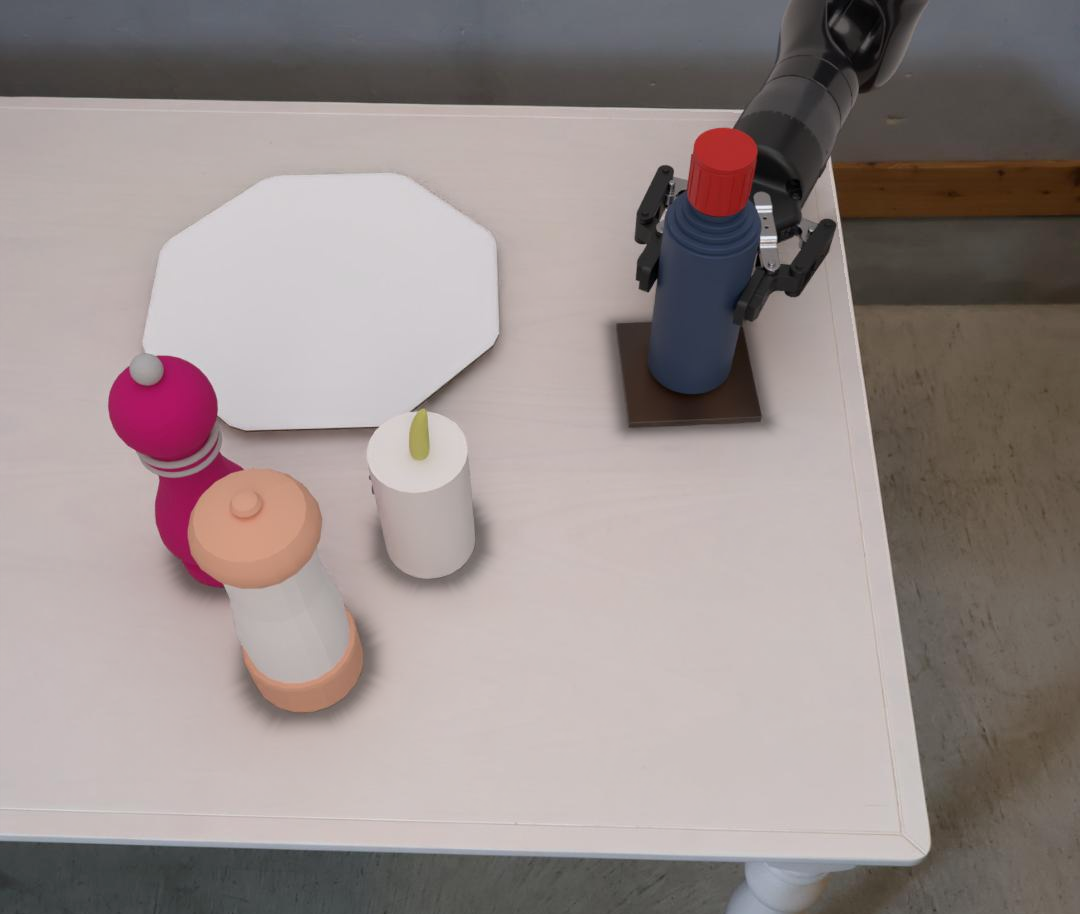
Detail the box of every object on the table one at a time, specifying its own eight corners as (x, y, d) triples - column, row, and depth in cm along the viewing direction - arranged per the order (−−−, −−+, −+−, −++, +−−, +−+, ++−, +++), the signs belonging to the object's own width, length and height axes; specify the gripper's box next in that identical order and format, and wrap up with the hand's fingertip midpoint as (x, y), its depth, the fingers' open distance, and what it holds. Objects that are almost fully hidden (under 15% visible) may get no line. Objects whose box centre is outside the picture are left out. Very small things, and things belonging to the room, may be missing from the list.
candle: (400, 493, 80) (374, 354, 67) (486, 513, 79) (477, 376, 66) (369, 565, 77) (337, 434, 64) (459, 588, 76) (444, 459, 63)
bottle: (724, 327, 87) (767, 118, 70) (737, 392, 83) (785, 188, 67) (643, 331, 86) (666, 122, 70) (652, 396, 83) (679, 193, 66)
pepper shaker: (326, 731, 70) (263, 582, 54) (230, 684, 72) (141, 526, 56) (384, 639, 74) (342, 472, 57) (291, 596, 75) (225, 423, 59)
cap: (743, 173, 72) (752, 125, 69) (753, 216, 70) (762, 169, 67) (683, 175, 72) (689, 128, 69) (690, 218, 70) (697, 172, 67)
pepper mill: (159, 536, 78) (54, 344, 61) (252, 489, 80) (176, 291, 63) (202, 612, 75) (103, 432, 58) (298, 562, 77) (231, 373, 60)
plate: (129, 445, 82) (123, 432, 81) (178, 190, 96) (173, 176, 95) (502, 434, 83) (501, 421, 81) (494, 182, 97) (494, 169, 96)
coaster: (740, 322, 89) (741, 317, 88) (760, 421, 83) (762, 417, 83) (615, 328, 88) (616, 322, 88) (628, 428, 83) (629, 423, 83)
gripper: (693, 82, 82) (598, 225, 75) (880, 139, 79) (801, 296, 71) (682, 163, 89) (594, 303, 81) (855, 220, 85) (779, 371, 78)
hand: (691, 299), depth 76 cm, fingers closed on bottle, 6 cm apart
